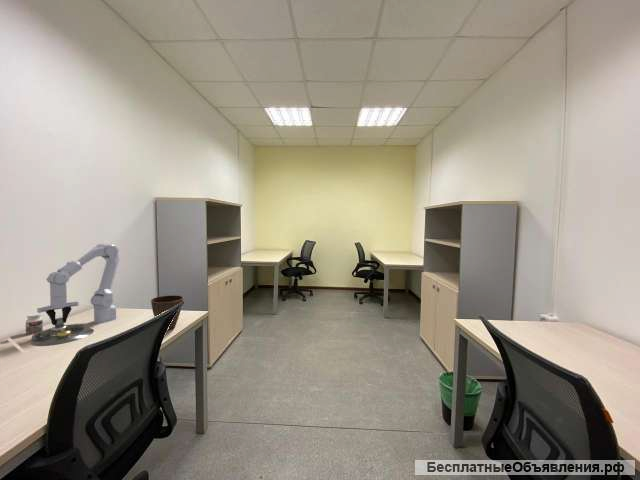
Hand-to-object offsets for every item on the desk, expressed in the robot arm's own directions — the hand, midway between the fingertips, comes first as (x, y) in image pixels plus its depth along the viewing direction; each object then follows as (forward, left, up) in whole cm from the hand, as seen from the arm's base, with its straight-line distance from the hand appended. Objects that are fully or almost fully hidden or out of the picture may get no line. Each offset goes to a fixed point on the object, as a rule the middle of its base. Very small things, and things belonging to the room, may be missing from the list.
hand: (59, 323), depth 132 cm
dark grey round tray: (0, +6, -6) cm, 8 cm away
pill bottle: (+6, -12, -6) cm, 15 cm away
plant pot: (-34, +34, -6) cm, 49 cm away
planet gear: (0, 0, -3) cm, 3 cm away
